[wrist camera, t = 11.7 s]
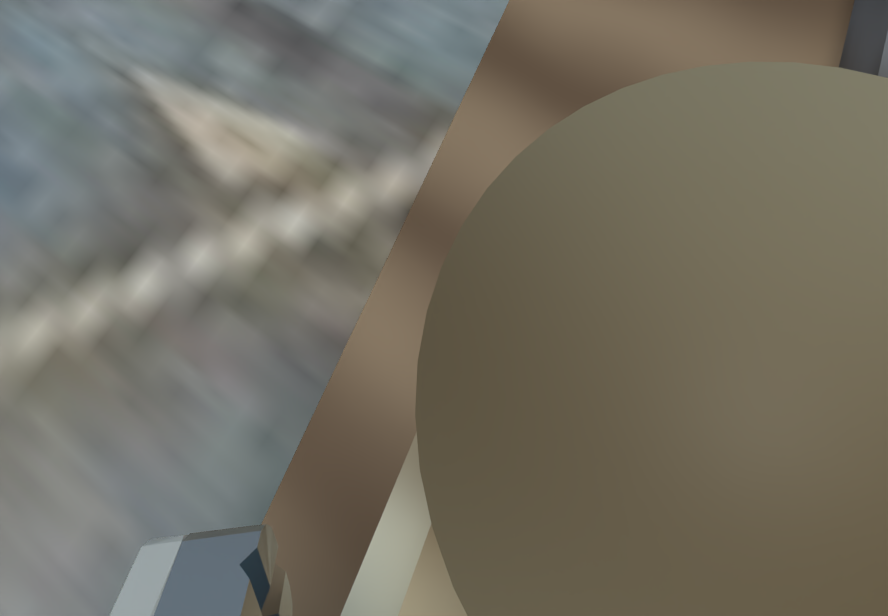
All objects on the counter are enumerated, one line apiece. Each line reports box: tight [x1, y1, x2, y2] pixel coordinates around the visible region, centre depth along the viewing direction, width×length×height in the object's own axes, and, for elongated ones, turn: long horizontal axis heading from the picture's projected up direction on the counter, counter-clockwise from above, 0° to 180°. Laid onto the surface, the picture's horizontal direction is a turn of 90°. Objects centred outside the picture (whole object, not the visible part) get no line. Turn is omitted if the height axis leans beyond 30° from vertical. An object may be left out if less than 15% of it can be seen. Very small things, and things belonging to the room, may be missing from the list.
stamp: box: [398, 62, 888, 616], centre depth 9 cm, size 8×4×12 cm, turn 159°
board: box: [261, 0, 888, 616], centre depth 16 cm, size 26×12×4 cm, turn 158°
